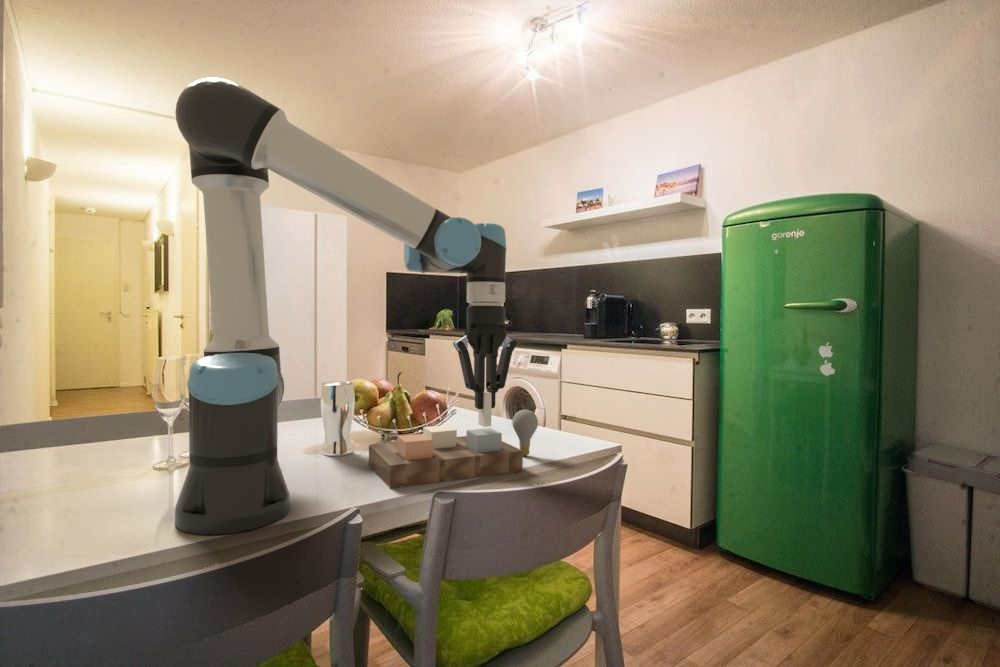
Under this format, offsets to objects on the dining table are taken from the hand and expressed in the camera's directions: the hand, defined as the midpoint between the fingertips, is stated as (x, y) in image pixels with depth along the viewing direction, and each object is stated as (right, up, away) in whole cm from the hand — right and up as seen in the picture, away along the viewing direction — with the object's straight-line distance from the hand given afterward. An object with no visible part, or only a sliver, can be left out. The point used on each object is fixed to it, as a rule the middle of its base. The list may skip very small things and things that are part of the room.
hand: (484, 425), depth 106 cm
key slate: (0, -6, 0) cm, 6 cm away
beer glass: (-32, -8, +10) cm, 34 cm away
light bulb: (+8, -9, +10) cm, 16 cm away
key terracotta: (-13, -6, -6) cm, 15 cm away
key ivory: (-9, -6, +2) cm, 11 cm away
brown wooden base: (-8, -8, 0) cm, 12 cm away
